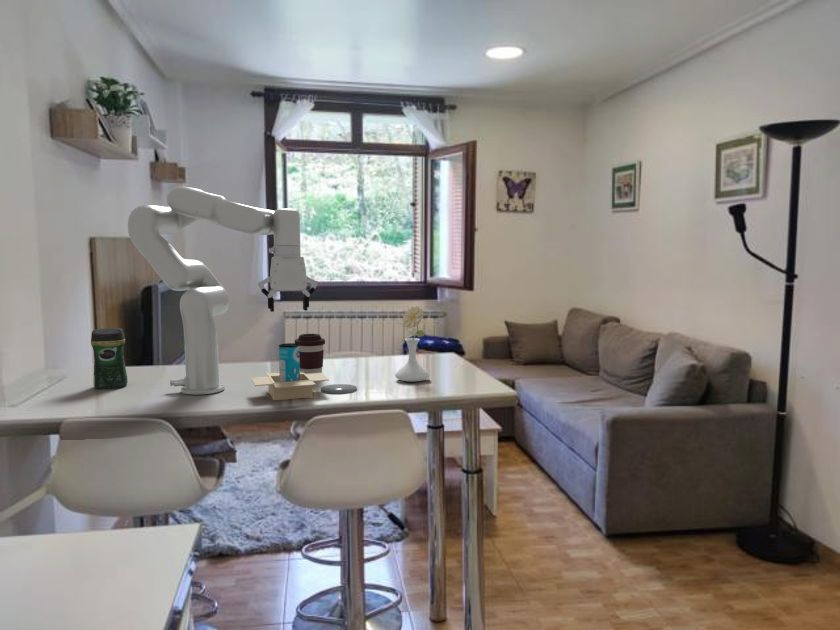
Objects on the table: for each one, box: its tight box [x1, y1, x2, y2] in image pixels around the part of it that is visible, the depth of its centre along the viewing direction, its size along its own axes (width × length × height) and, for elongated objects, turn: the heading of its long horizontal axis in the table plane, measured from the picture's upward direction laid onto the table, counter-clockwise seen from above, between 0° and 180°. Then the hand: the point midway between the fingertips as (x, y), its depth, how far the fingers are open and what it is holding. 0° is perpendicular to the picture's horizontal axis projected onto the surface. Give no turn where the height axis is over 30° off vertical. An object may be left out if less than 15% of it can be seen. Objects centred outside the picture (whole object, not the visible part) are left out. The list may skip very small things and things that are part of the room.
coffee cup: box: [294, 333, 326, 374], centre depth 203 cm, size 10×10×15 cm
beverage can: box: [278, 342, 300, 382], centre depth 181 cm, size 6×6×15 cm
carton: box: [250, 371, 330, 401], centre depth 182 cm, size 21×21×5 cm
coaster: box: [320, 383, 358, 395], centre depth 188 cm, size 11×11×1 cm
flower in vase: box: [394, 305, 430, 383], centre depth 200 cm, size 13×11×25 cm
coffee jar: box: [90, 327, 128, 390], centre depth 193 cm, size 10×8×19 cm
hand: (288, 310), depth 180 cm, fingers open, 9 cm apart
